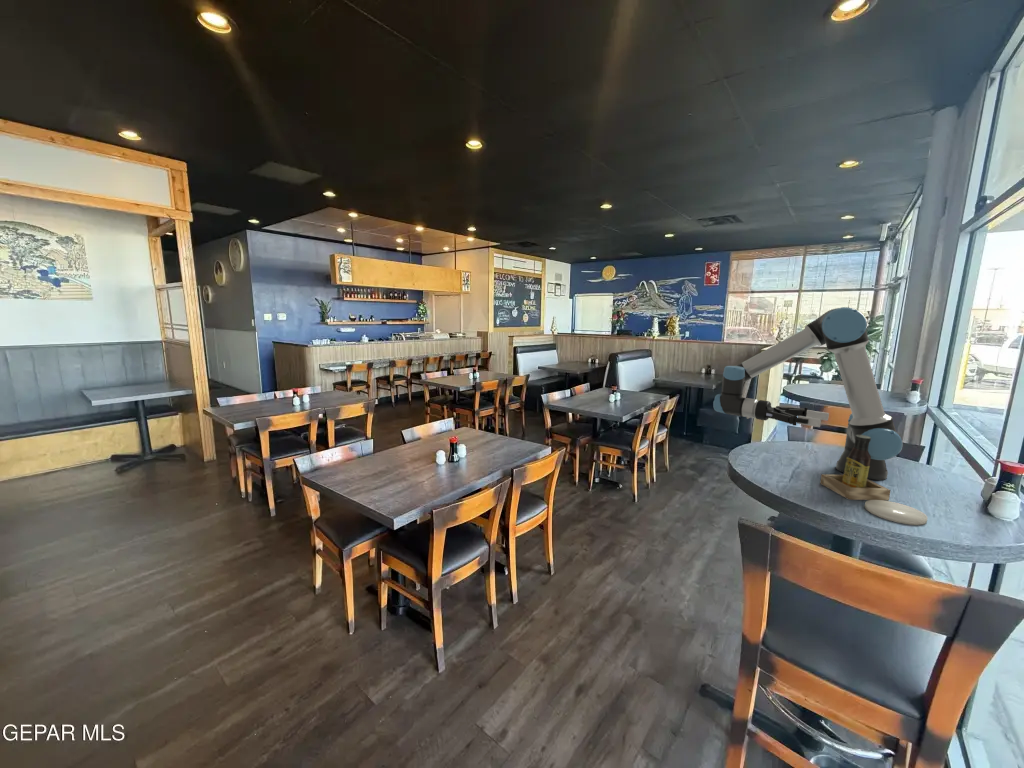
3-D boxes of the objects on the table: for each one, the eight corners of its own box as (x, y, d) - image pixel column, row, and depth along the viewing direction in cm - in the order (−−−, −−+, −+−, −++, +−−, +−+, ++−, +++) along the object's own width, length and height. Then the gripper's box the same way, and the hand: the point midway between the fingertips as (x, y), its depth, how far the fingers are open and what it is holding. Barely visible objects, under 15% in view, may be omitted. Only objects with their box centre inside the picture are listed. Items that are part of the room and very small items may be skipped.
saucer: (897, 503, 132) (897, 500, 132) (941, 525, 119) (941, 521, 118) (853, 502, 133) (853, 499, 132) (891, 524, 119) (892, 520, 119)
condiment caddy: (856, 484, 148) (858, 474, 147) (888, 500, 135) (890, 490, 134) (820, 483, 148) (821, 474, 147) (848, 499, 135) (850, 489, 134)
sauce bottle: (836, 487, 144) (844, 433, 141) (852, 487, 145) (861, 432, 142) (853, 495, 138) (861, 438, 135) (870, 495, 138) (879, 438, 135)
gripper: (765, 413, 169) (829, 424, 154) (745, 424, 152) (815, 437, 137) (767, 395, 167) (832, 404, 152) (747, 404, 150) (818, 415, 135)
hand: (824, 420), depth 144 cm, fingers open, 13 cm apart
